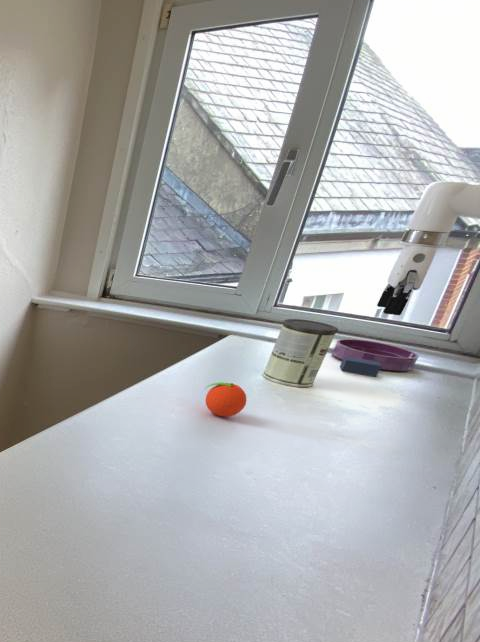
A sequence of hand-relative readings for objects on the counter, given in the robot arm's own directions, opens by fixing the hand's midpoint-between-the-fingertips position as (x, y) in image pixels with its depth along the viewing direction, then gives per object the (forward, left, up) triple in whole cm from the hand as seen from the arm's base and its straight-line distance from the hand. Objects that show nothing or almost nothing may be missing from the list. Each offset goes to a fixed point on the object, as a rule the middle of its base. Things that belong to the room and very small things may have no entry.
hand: (388, 310), depth 137 cm
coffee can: (+16, +22, -16) cm, 32 cm away
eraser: (0, 0, -16) cm, 16 cm away
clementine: (+29, +60, -16) cm, 69 cm away
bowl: (-4, -14, -16) cm, 22 cm away
